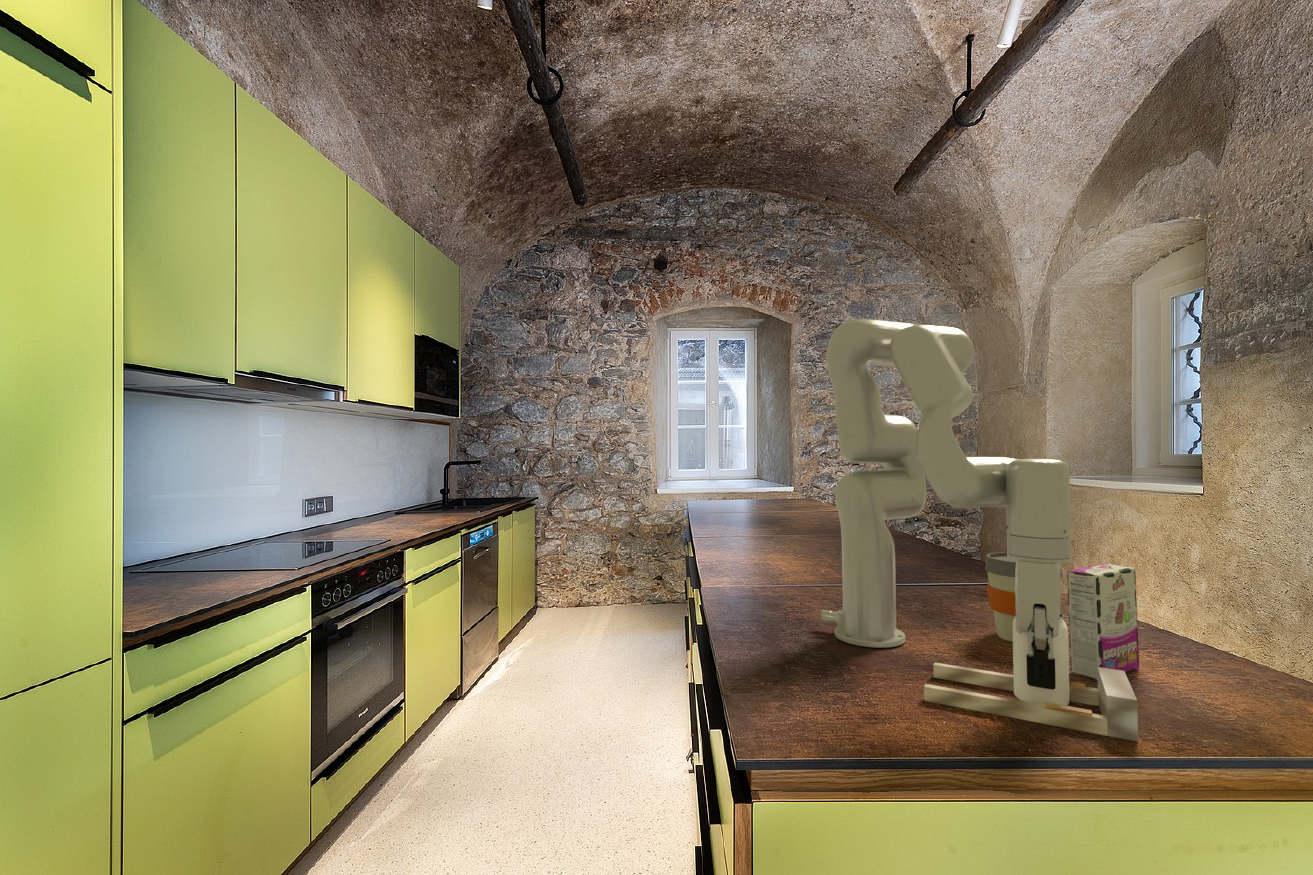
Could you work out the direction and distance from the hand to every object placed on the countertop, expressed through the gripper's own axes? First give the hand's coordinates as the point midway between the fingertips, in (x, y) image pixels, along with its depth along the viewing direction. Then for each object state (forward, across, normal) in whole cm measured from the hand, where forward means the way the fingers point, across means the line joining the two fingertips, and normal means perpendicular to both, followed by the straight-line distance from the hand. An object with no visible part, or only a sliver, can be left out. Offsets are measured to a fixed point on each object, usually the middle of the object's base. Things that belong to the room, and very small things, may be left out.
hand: (1040, 676), depth 84 cm
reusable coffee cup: (+4, -35, -2) cm, 35 cm away
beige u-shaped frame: (+4, 0, -3) cm, 5 cm away
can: (+3, 0, 0) cm, 3 cm away
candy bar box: (+4, -21, +9) cm, 23 cm away
